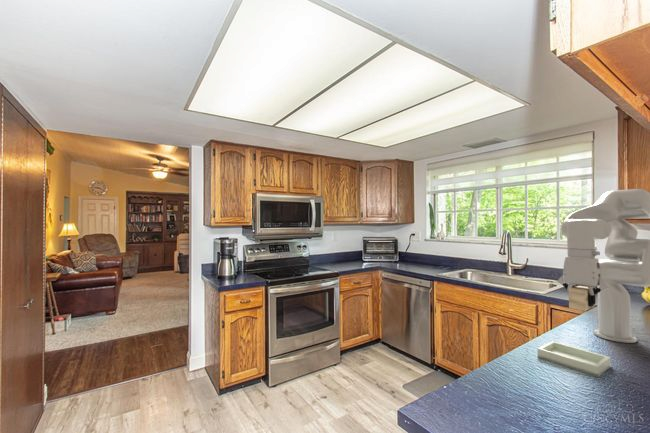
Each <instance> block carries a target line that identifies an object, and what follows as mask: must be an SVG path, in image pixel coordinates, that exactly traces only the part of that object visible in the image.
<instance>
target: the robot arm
mask: <svg viewBox="0 0 650 433" xmlns="http://www.w3.org/2000/svg"><path fill="white" fill-rule="evenodd" d="M627 219H629V220H631V219H634V220H638V219H641V220H642V219H646V220H647V219H649V220H650V192H649V191H647V190H645V189H643V188H642V189H641V188H631V189H617V190H616V189H615V190H610V191H609V190H608V191H606V192H605V193H603V194H602V195H601V196H600V197H599V198H598V199H597V200H596V202H595V203H594V204H592V205H589V206H587V207H586V206H585V207H584V208H581V209H578V210H576V211H574V212H571V213H570V214H569V215H568V216H566V218H565V219H564V220H563V222H562V224H561V226H560V233H561V234H562V236H564V237H565V238H566V242H567V243H566V244H567V246H566V247H567V255H566V256H565V258H564V261H563V266H562V267H563V269H562V275H561V276H560V277H559V279H557V282H558V283H559V284H560V285H562V286H563V287H564V288H565V290H567V292H568V293H569V288H572V287H576V286H585V287H588V290H589V295H588V306H594V304H595V305H596V303H597V315H598V317H597V320H598V321H597V322H598V326H597V327H598V328H596V329H594V330H593V334H594V336H596V337H599V338H601V339H605V340H608V341H611V342H618V343H625V344H633V343H636V342H637V341H638V338H637V337H636V336H635V335H632V321H631V320H632V319H631V296H630V293H629V291H628V290H627V289H626V288H625V287H624V286H623V285H626V286H635V287H642V288H643V287H644V288H646V287H650V239H649V238H637V237H638V229H636V228H635V226H634V225H632V224H631V223H630V222H628V221H627ZM604 239H606V244H605V248H604V255H605V256H606V258H603V259H599V258H598V257H596V256H600V255H601V252H600V251H598V250H596V249H595V240H604ZM596 287H597V288H596ZM596 295H597V302H596Z"/></svg>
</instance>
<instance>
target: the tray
mask: <svg viewBox="0 0 650 433" xmlns="http://www.w3.org/2000/svg"><path fill="white" fill-rule="evenodd" d="M536 351H537V358H539V359H542V360H545V361H548V362H551V363H554V364H558V365H560V366H563V367H566V368H570V369H571V370H575V371H577V372H582V373H585V374H587V375H590V376H594V377H597V378H599V377H600V376H602V375H603V374H604V373H605V372H606V371H608V369H610V368H611V366H612V364H611V363H612V360H611V358H612V357H610V356H607V355H604V354H600V353H597V352H593V351H590V350H586V349H582V348H579V347H575V346H572V345H567V344H565V343H561V342H556V341H554V340H551V341H549V342H548V343H545V344H543V345H542V346H540V347H538V348H537V350H536Z"/></svg>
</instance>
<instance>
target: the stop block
mask: <svg viewBox="0 0 650 433" xmlns="http://www.w3.org/2000/svg"><path fill="white" fill-rule="evenodd" d="M588 295H589V290H588V287H587V286H583V285H575V287H572V288H569V292H568V308H569V309H573V310H576V311H583V312H587V311H588V310H592V309H594V308H596V303H595V304H594V306H588Z"/></svg>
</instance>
